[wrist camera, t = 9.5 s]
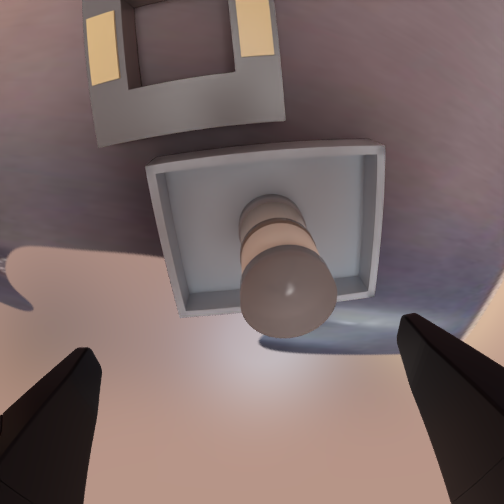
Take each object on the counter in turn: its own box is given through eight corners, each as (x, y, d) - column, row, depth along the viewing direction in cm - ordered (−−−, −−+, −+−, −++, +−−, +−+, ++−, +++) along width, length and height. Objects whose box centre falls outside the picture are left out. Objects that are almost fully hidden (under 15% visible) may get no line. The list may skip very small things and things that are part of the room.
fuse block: (261, -48, 12) (265, -66, 10) (279, 117, 18) (286, 121, 15) (98, -18, 12) (80, -29, 10) (113, 141, 18) (96, 149, 15)
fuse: (301, 191, 19) (339, 253, 12) (303, 249, 21) (334, 331, 14) (234, 197, 19) (234, 264, 12) (242, 256, 21) (245, 342, 14)
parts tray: (368, 138, 18) (385, 145, 16) (362, 276, 23) (374, 296, 21) (155, 157, 18) (145, 166, 16) (184, 295, 23) (179, 317, 21)
